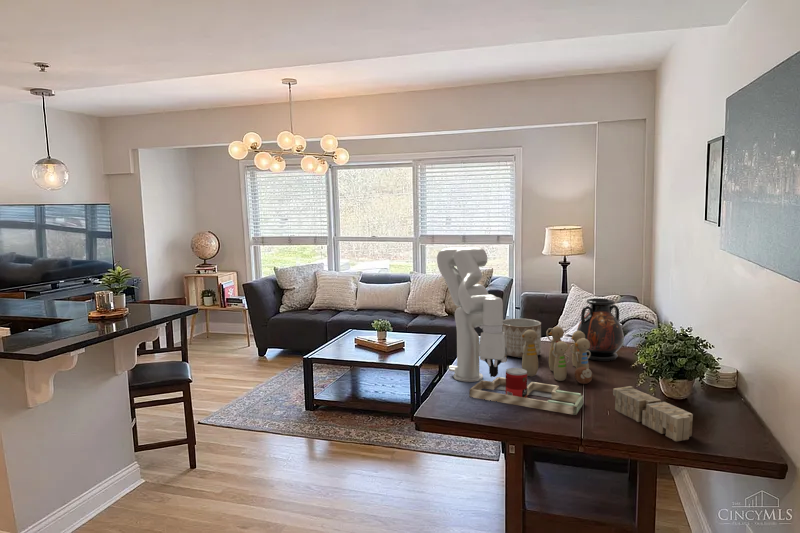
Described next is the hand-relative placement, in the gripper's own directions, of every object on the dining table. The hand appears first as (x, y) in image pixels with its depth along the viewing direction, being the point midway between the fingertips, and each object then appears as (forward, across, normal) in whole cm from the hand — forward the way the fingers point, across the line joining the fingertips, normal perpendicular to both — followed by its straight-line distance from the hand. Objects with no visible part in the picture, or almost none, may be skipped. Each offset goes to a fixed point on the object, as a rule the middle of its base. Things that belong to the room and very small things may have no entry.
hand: (493, 375), depth 207 cm
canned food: (+8, +8, +1) cm, 12 cm away
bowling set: (+8, +14, +41) cm, 44 cm away
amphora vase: (+7, +27, +75) cm, 80 cm away
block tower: (+10, +56, -1) cm, 56 cm away
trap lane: (+8, +12, +4) cm, 15 cm away
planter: (+6, -8, +62) cm, 63 cm away
